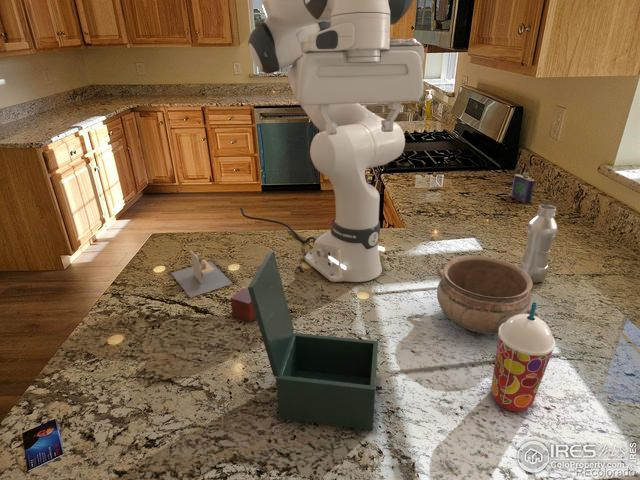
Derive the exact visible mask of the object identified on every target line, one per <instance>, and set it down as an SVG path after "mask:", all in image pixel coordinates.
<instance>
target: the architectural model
mask: <svg viewBox="0 0 640 480" xmlns="http://www.w3.org/2000/svg"><path fill="white" fill-rule="evenodd" d="M189 252H190V258H191V259H190V260H191V264H192V266H189V267H186V268H181V269H179V270H176V271H173V272H170V274H171V275H172V276H173V277H174V279H175V280H176V282H177V283H178V284H179V285H180V286H181V288H182V289H183V291H185V293H186V294H187V295H188V297H189V298H194V297H197V296H200V295H203V294H205V293H208V292H211V291H215V290H218V289H221V288H223V287H226V286H231V285H233V284H234V283H233V282H232V281H231V280H230V279H229V278H228V277H227V276H226V275H225V274H224V273H223V272H222V271H221V270H220V269H219V268H218V267H217V266H216V265H215V264H214V263H213V262H212V261H211V260H210V261H207V260H206V259H202V257H201V256H202V252H200V253H197V254H195V253H194V252H193V250H191V249H190V250H189Z"/></svg>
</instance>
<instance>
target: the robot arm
mask: <svg viewBox="0 0 640 480" xmlns="http://www.w3.org/2000/svg"><path fill="white" fill-rule="evenodd" d="M261 2H262V8H263V12H264V14H265V19H264V20H263V21H261V22H259V21H258V20H257V21H256V22H255V27H254V29H253V30H252V31H251V32H250V35H249V38H248V41H247V45H248V51H249V55H250V58H251V60H252V62H253V63H254V65H255V66H256V67H257V68H258V69H259V70H260V71H261V72H263V73H265V74H268V75H269V74H273V73H277V72H279V71H280V70H282V69H284V68H287V67H289V68H288V71H287V81H288V85H289V86H290V89H291V92H292V94H293V95H294V98H295V101H296V102H297V103H298V104H299V105H300V107H301V109H303V111H304V112H305V114H306V115H307V117H308V118H309V119H310V121H311V122H312V123H313V125H314V127H316V128H317V129H318V130H320V132H318V133H316V134H315V135H314V137H313V139H312V140H311V143H310V148H309V155H310V156H309V157H310V160H311V162H312V164H313V166H314V168H315V169H316V170H317V171H318V172H319V173H320V174H322V175H323V176H325V177H326V178H327V179H328V181H329V183H330V184H331V187H332V189H333V193H334V203H335V204H334V205H335V206H334V207H335V217H334V218H333V219H330V220H328V224H327V225H328V226H331V228H330V230H328V231H325V232H324V233H322V234H319V235H317V236H309V237H307V238H306V239H303V238H302V237H301V236H300V235H299V234H298V232H296V231H295V230H294V229H293V228H292V227H291V226H290V225H289V224H287V223H284V222H282V221H278V220H273V219H268V218H263V217H257V216H251V215H247V214H245V212H244V207H242V206H241V207H240V209H239V210H240V212H241V215H242V216H243V217H244V218H246V219H250V220H256V221H264V222H268V223H274V224H279V225H282V226H283V227H286V228H287V229H288V230H289V231H290V232H291V233H292V234H293V235H294V236H296V238H297V239H298V240H299V241H300V242H302V243H305V244H306V243H308V242H309V241H310V240H312V249H311V250H310V251H309V252H307V253H306V255H304V261H305V262H306V263H307V264H309V265H310V266H311V267H312V268H313V269H315V270H316V271H317V272H319V273H320V274H321V275H322V276H324V278H326V279H327V280H329V281H330V282H332V283H337V282H339V283H340V282H350V283H363V282H368V281H372V280H374V279H377V278H379V276H381V274H382V271H383V267H382V262H381V256H380V251H382V252H385V250H386V248H385V247H383V246H380V245H379V239H380V235H381V234H380V232H381V221H380V220H379V219H380V203H381V202H380V201H381V198H380V197H381V196H380V193H379V191H378V190H377V188H376V187H374V186H373V185H372V184H370V183H368V182H367V180H366V170H367V169H368V170H369V169H372V168H377V167H381V166H384V165H387V164H389V163H391V162H393V161H395V160H396V159H398V158H399V157H401V156H402V154H403V152H404V150H405V147H406V138H405V137H406V136H405V133H404V131H403V129H402V127H401V126H400V125H399V124H398V123H397V122H395V120H396V119H397V118H398V115H399V113H400V111H401V110H402V102H403V103H405V102H419V100H420V99H421V98H422V97H423V96H424V71H423V69H424V68H423V65H424V58H425V48H424V46H423V45H422V44H421V42H419V41H417V40H416V39H415V38H409V37H408V38H391V25H395V24H397V23H398V22H399V21H400V20H401V19H403V17H404V16H405V15H406V14H407V12H408V11H409V10H410V8H411V6H412V5H413V2H414V0H261ZM379 103H387V109H388V110H389V113H388V115H387V117H386V118H383V117H381V116H379V115H378V114H375V113H373V112H372V111H371V110H369V109H368V108H366V107H364V105H362V104H379Z"/></svg>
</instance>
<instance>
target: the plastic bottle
mask: <svg viewBox="0 0 640 480" xmlns="http://www.w3.org/2000/svg"><path fill="white" fill-rule="evenodd" d="M556 212H557V207H556V206H554V205H551V204H540V205H538V210H537V212H536V214H537V215H536V216H535V217H533V218H532V219H531V220H530V221H529V222H528V224H527V229H526V231H527V234H526V246H525V250H524V253H523V257H522V260H521V261H520V264H519V266H518V267H520V268H521V269H523V270H524V271H525V272H527V273H528V275H529V276H530V277H531V279H532V283H541V282H543V281H544V280H546V278H547V276H548V270H549V266H548V265H549V258H550V257H549V256H550V252H551V249H552V246H553V243H554V241H555V238H556V235H557V233H558V224H557V222H556V219H555V218H554V217H556Z"/></svg>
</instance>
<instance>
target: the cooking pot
mask: <svg viewBox="0 0 640 480" xmlns="http://www.w3.org/2000/svg"><path fill="white" fill-rule="evenodd" d="M442 271H443V272H442ZM436 272H437V274H438V277H439V278H440V279H439V282H438V285H437V288H436V297H437V302H438V305H439V307H440V309H441V311H442V312H443V314H444V315H445V316H446V317H447V318H448V319H449V320H451V322H453V323H454V324H456V325H458V326H459V327H461V328H463V329H466V330H468V331H471V332H475V333H478V334H486V335H490V334H491V335H496V334H497V335H498V332H499V327H500V326H501V324H503V323H505V322H506V321H507V320H508V319H509V318H511V317H513V316H515V315H517V314H530V311H531V307H532V303H533V302H532V295H531V290H532V288H533V283H534V282H532V279H531V277H530V276H529V275H528V273H527V272H525V271H524V270H523V269H521V268H520V267H519V266H518V265H516V264H514V263H512V262H509V261H507V260H504V259H501V258H498V257H494V256H493V257H492V256H488V255H462V256H458V257H454V258H452V259H449V260H448V261H446V263H445V264H444V265H443V264H440V265H438V266H437V267H436ZM534 316H537V317H539V318H540V319H542V316H541V314H540V313H538V312H536V311H535V313H534Z"/></svg>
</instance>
